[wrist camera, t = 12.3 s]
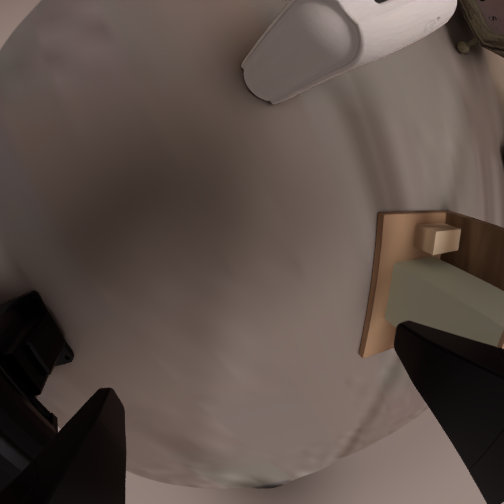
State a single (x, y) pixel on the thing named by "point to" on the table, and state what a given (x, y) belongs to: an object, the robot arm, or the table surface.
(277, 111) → the table surface
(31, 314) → the robot arm
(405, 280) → the cabinet block
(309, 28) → the photo printer
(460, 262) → the cleat board
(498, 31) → the green spouted canister
